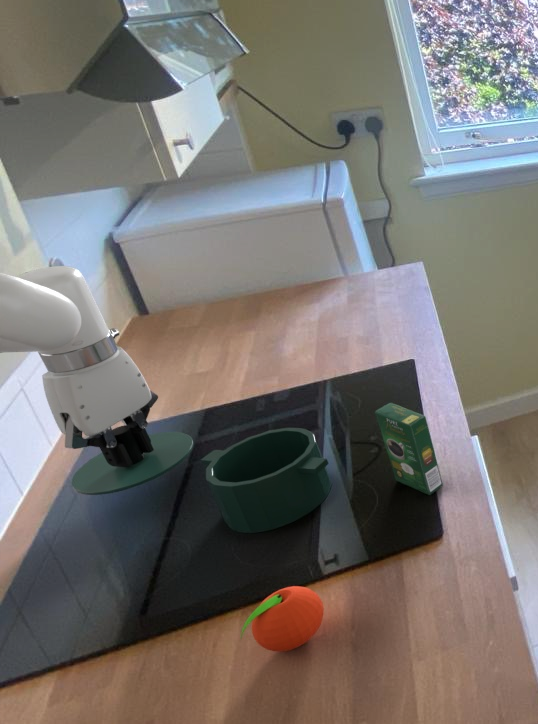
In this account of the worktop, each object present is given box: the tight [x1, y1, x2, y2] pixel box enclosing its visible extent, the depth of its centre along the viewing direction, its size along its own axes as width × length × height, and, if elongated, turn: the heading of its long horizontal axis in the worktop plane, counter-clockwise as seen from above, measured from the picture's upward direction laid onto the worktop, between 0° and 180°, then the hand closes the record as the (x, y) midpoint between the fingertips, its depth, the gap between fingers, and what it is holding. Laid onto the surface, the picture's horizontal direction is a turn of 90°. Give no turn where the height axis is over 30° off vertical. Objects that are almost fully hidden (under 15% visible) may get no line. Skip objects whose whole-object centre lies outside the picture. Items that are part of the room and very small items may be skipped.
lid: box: [70, 424, 195, 496], centre depth 110 cm, size 14×14×7 cm
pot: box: [200, 427, 332, 534], centre depth 108 cm, size 13×19×8 cm
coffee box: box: [374, 402, 444, 496], centre depth 109 cm, size 8×3×13 cm, turn 63°
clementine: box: [240, 585, 325, 652], centre depth 85 cm, size 8×7×7 cm
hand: (132, 457), depth 110 cm, fingers closed on lid, 2 cm apart
